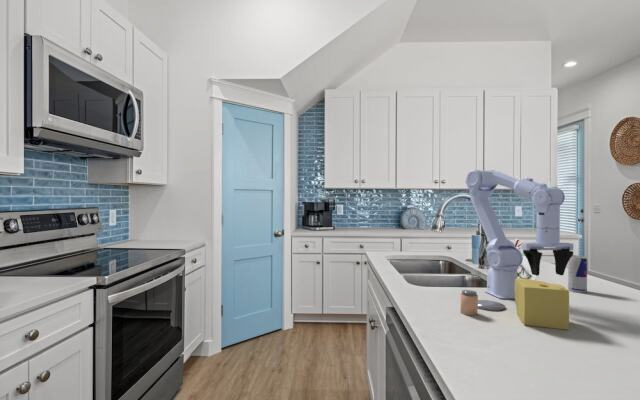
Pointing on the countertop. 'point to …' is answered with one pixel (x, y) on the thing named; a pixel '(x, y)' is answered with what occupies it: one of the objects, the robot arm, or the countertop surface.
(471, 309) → the spice jar
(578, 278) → the energy drink
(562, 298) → the cheese
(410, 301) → the countertop surface
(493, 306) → the coaster
